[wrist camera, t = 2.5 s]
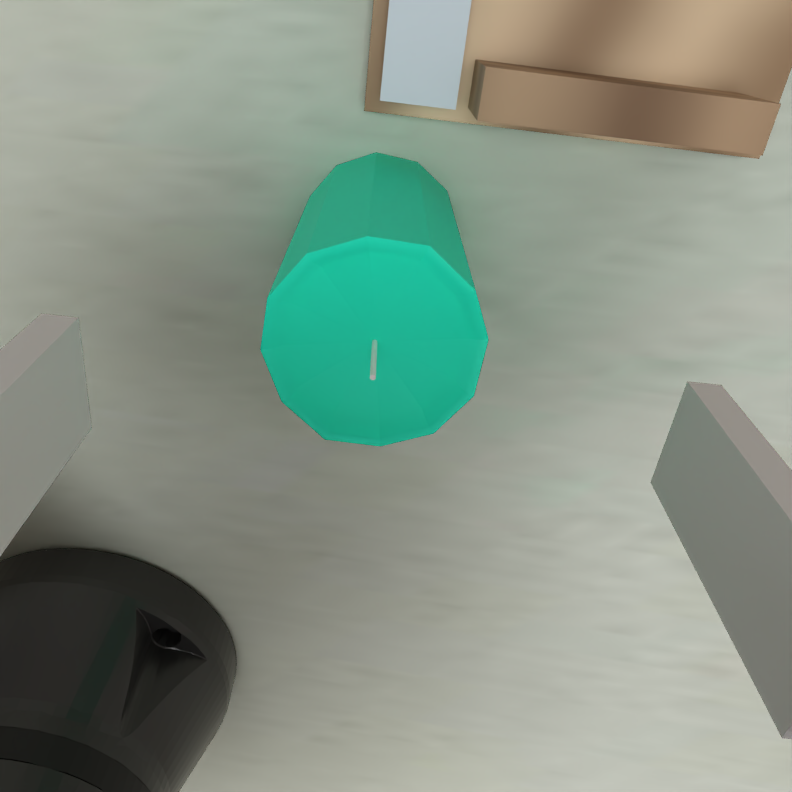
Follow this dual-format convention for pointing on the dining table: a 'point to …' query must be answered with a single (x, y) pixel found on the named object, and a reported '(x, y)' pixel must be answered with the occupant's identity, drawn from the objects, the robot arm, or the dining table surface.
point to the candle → (375, 307)
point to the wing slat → (424, 52)
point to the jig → (617, 70)
